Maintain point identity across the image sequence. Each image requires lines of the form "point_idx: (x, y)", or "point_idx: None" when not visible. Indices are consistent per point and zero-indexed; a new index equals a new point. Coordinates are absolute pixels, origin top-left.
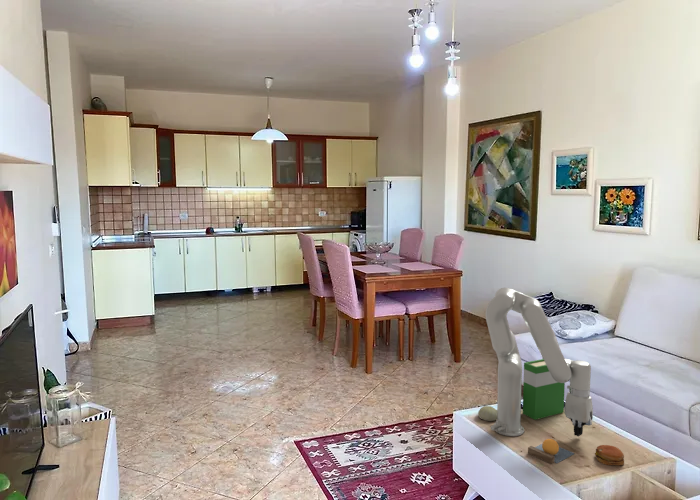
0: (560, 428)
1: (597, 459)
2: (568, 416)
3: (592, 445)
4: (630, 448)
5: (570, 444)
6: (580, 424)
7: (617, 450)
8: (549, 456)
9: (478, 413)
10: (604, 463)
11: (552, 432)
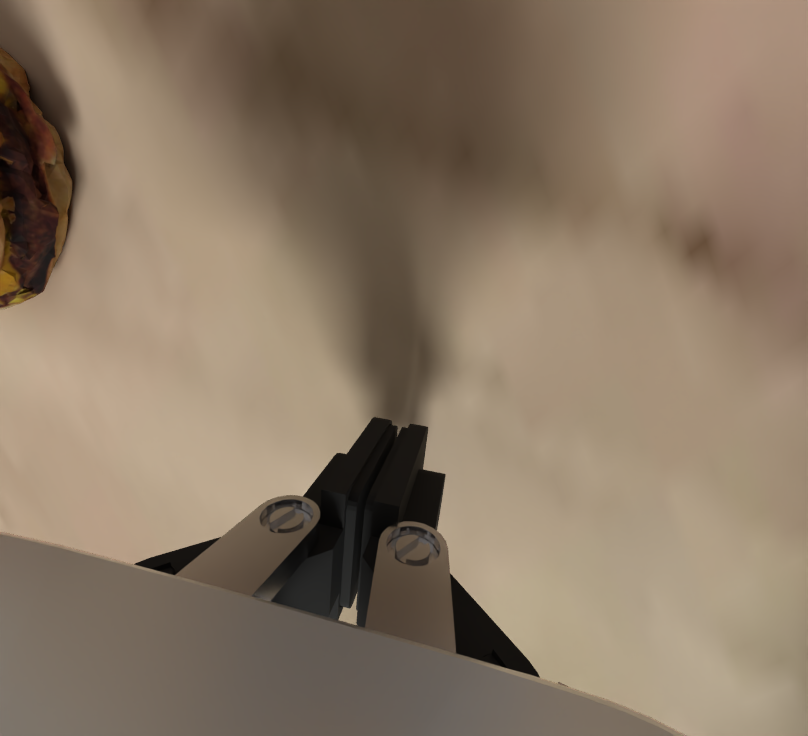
0: (685, 575)
1: (5, 56)
2: (565, 708)
3: (227, 383)
4: (38, 535)
5: (399, 215)
6: (235, 539)
7: None
8: None
9: None
10: None
11: (751, 397)
